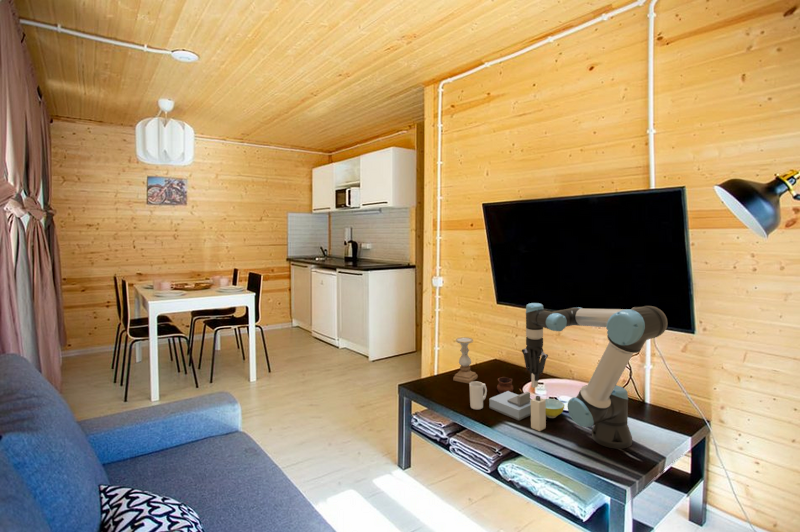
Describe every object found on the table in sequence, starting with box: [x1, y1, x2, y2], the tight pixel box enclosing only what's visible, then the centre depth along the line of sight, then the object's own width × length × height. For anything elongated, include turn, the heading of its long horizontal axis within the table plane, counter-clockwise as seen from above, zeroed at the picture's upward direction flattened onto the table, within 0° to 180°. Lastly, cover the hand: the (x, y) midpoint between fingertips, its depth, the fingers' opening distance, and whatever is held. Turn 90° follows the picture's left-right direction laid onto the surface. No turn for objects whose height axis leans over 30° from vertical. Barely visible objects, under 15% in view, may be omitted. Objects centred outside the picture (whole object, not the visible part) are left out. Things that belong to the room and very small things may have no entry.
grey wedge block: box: [508, 391, 531, 406], centre depth 211 cm, size 8×8×5 cm
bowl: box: [543, 398, 565, 419], centre depth 206 cm, size 11×12×6 cm
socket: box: [488, 391, 531, 421], centre depth 214 cm, size 18×14×5 cm
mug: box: [468, 380, 488, 410], centre depth 220 cm, size 10×7×12 cm, turn 120°
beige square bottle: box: [530, 395, 547, 432], centre depth 195 cm, size 4×4×14 cm
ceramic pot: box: [496, 376, 522, 394], centre depth 237 cm, size 18×18×7 cm
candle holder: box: [452, 336, 479, 384], centre depth 257 cm, size 11×11×24 cm
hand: (534, 386), depth 203 cm, fingers closed
